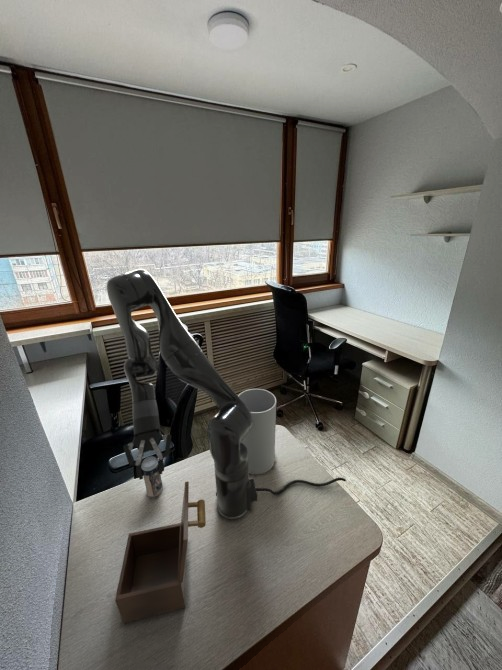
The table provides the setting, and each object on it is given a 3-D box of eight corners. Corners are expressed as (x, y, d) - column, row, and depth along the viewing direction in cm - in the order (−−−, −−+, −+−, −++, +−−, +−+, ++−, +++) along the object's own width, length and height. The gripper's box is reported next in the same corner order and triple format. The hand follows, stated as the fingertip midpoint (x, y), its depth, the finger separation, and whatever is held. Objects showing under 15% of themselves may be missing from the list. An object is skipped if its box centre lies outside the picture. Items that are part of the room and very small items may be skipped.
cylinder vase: (281, 460, 93) (284, 400, 83) (256, 482, 85) (255, 419, 75) (256, 440, 101) (256, 384, 92) (231, 459, 93) (227, 399, 84)
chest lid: (183, 540, 49) (207, 537, 50) (185, 481, 60) (204, 480, 61) (178, 583, 54) (200, 579, 55) (181, 521, 65) (199, 519, 66)
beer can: (158, 499, 80) (152, 469, 75) (144, 496, 81) (137, 466, 76) (166, 484, 84) (160, 456, 80) (152, 482, 85) (146, 453, 81)
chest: (123, 623, 55) (114, 600, 52) (135, 556, 66) (128, 533, 63) (185, 607, 57) (181, 584, 54) (186, 544, 68) (182, 522, 65)
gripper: (118, 420, 78) (121, 485, 72) (169, 410, 83) (176, 470, 77) (123, 423, 85) (127, 482, 79) (170, 413, 89) (177, 469, 83)
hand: (151, 476), depth 78 cm, fingers closed on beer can, 4 cm apart
